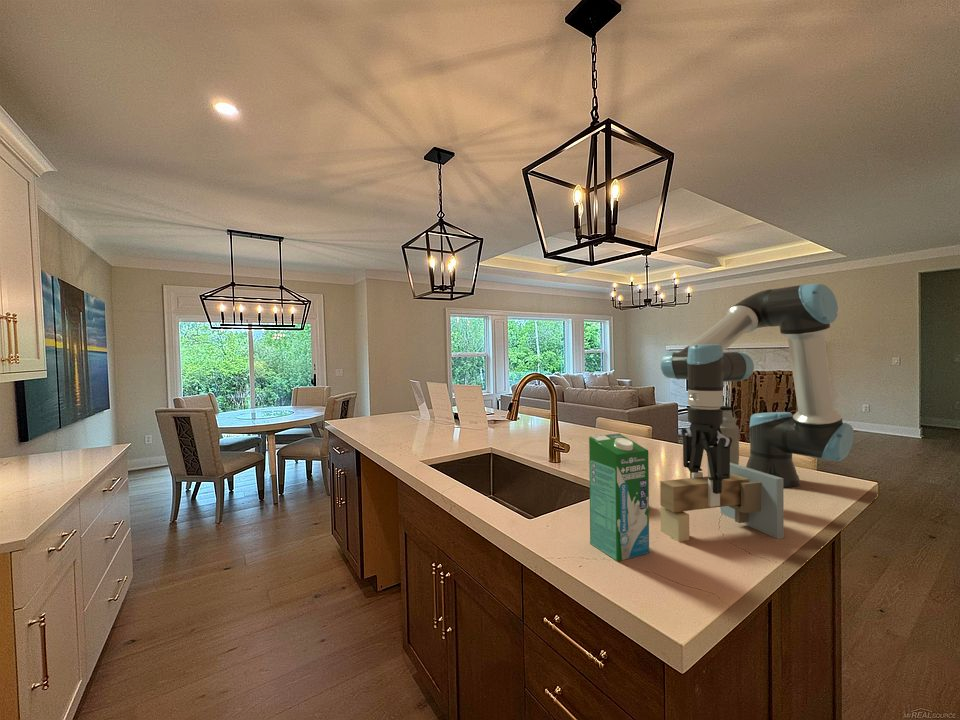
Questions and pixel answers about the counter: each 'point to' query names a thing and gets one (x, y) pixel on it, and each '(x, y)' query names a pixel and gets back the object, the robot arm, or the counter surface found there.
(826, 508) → the counter surface
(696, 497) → the brown wooden block
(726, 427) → the thermos bottle
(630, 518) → the milk carton
